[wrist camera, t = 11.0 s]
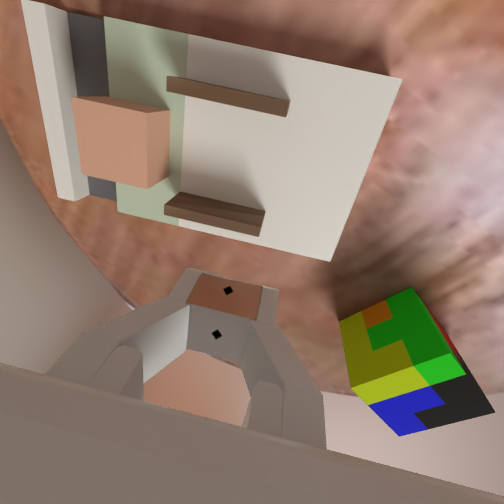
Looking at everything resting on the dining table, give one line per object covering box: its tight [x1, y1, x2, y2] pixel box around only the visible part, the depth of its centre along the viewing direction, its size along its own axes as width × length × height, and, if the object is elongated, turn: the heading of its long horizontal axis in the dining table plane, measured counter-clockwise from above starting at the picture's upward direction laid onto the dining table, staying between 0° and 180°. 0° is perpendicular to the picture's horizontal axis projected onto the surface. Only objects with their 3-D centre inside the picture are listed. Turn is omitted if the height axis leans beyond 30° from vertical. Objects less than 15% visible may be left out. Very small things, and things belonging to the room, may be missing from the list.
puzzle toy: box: [339, 287, 495, 436], centre depth 33 cm, size 10×10×10 cm
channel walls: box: [164, 76, 290, 237], centre depth 24 cm, size 11×9×4 cm
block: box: [71, 96, 170, 189], centre depth 24 cm, size 6×6×4 cm
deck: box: [21, 0, 402, 262], centre depth 27 cm, size 17×31×3 cm, turn 80°
